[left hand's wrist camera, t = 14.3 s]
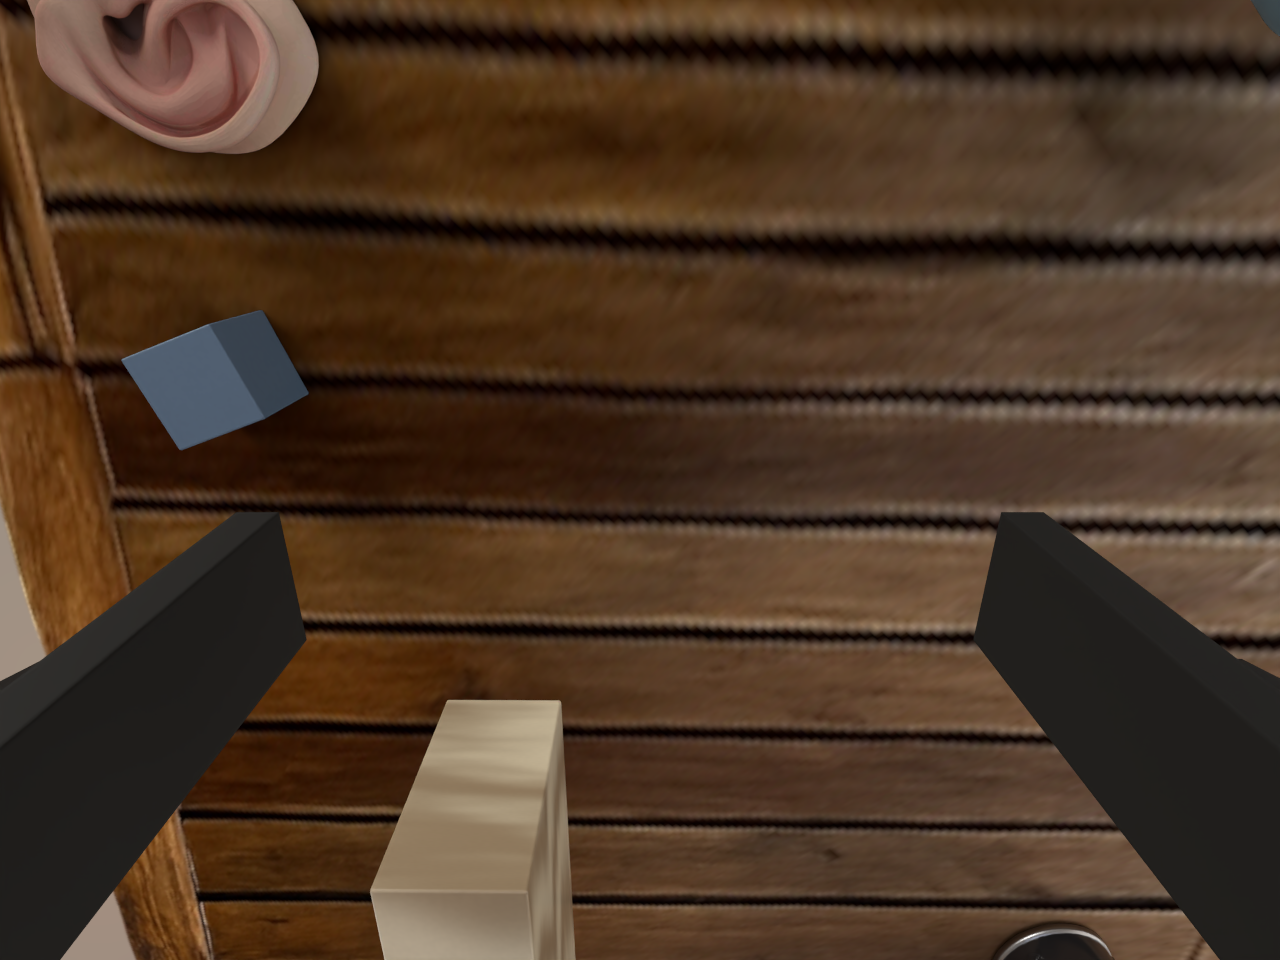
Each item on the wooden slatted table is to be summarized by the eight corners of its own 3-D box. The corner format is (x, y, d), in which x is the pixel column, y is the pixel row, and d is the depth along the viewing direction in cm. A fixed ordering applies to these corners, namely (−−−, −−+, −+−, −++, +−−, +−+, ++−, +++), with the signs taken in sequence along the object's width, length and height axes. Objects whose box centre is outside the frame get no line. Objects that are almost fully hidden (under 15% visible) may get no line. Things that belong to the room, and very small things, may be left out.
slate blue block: (262, 309, 37) (208, 324, 32) (309, 393, 39) (264, 418, 34) (184, 340, 38) (120, 359, 33) (234, 422, 39) (179, 451, 35)
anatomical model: (-129, -110, 27) (91, -288, 25) (-36, -72, 30) (162, -224, 29) (111, 212, 31) (314, 82, 29) (167, 212, 35) (350, 96, 33)
